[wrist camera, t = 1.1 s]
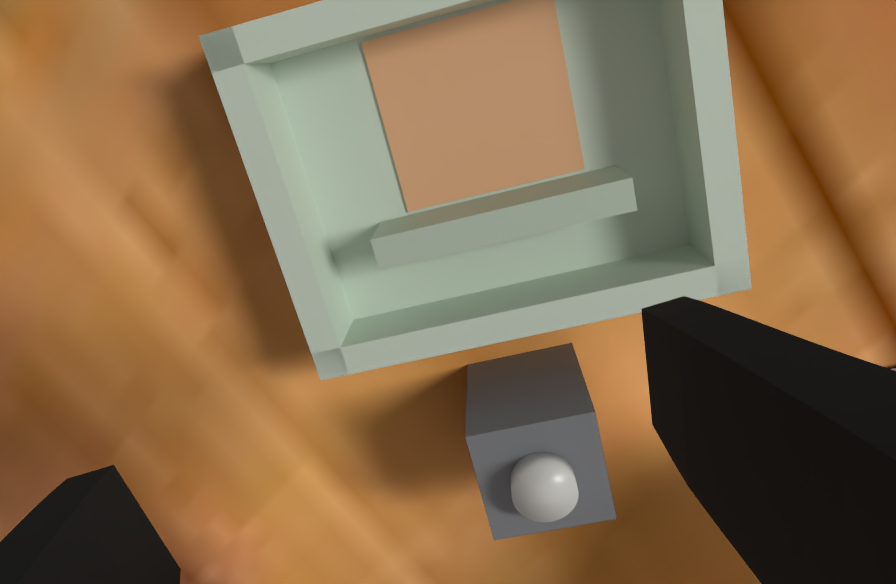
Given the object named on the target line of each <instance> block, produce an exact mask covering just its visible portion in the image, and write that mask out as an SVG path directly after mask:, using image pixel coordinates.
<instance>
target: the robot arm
mask: <svg viewBox="0 0 896 584" xmlns="http://www.w3.org/2000/svg"><path fill="white" fill-rule="evenodd" d="M642 320H643V330H644V340H645V351H646V361H647V372H648V382H649V393H650V403H651V414H652V424H653V426H654V428H655V430H656V432H657V433H658V435H659V437H660V439H661V440H662V442H663V444H664V446H665V448H666V449H667V451H668V453H669V455H670V456H671V458H672V460H673V462H674V463H675V465H676V467H677V468H678V470H679V472H680V473H681V475H682V477H683V478H684V480H685V482H686V483H687V485H688V487H689V488H690V489H691V491H692V492H693V493H694V495H695V496H696V498H697V499H698V500H699V502H700V503H701V504H702V506H703V507H704V508H705V510H706V511H707V512H708V514H709V515H710V516H711V518H712V519H713V520H714V522H715V523H716V524H717V526H718V527H719V528H720V530H721V531H722V532H723V534H724V535H725V536H726V538H727V539H728V540H729V541H730V543H731V544H732V545H733V547H734V548H735V549H736V551H737V552H738V553H739V555H740V556H741V557H742V558H743V560H744V561H745V562H746V564H747V565H748V566H749V568H750V569H751V570H752V572H753V573H754V574H755V575H756V577H757V578H758V579H759V581H760V582H761V583H762V584H896V368H893V369H888V368H885V367H882V366H879V365H876V364H873V363H870V362H867V361H864V360H861V359H858V358H855V357H852V356H849V355H846V354H844V353H841V352H838V351H835V350H832V349H829V348H827V347H824V346H821V345H818V344H816V343H813V342H810V341H807V340H805V339H802V338H799V337H796V336H794V335H791V334H788V333H786V332H783V331H780V330H778V329H775V328H772V327H770V326H767V325H764V324H762V323H759V322H756V321H754V320H751V319H748V318H746V317H743V316H740V315H738V314H735V313H732V312H730V311H727V310H724V309H722V308H719V307H716V306H713V305H710V304H708V303H705V302H702V301H699V300H696V299H692V298H689V297H686V296H683V297H679V298H676V299H672V300H669V301H666V302H662V303H659V304H656V305H652V306H649V307H645V308H642ZM180 570H181V569H180V568H179V566H178V565H177V563H176V562H175V560H174V558H173V557H172V555H171V554H170V552H169V551H168V549H167V547H166V546H165V544H164V543H163V541H162V540H161V538H160V537H159V535H158V533H157V532H156V530H155V529H154V527H153V526H152V524H151V523H150V521H149V519H148V518H147V516H146V515H145V513H144V512H143V510H142V508H141V507H140V505H139V504H138V502H137V501H136V499H135V498H134V496H133V494H132V493H131V491H130V490H129V488H128V487H127V485H126V483H125V482H124V480H123V479H122V477H121V476H120V474H119V473H118V471H117V469H116V468H115V466H114V465H112V466H109V467H105V468H102V469H99V470H95V471H92V472H88V473H85V474H82V475H78V476H75V477H72V478H68V479H66V480H65V481H64V482H63V483H62V484H60V485H59V486H58V487H57V488H56V489H55V490H54V491H52V492H51V493H50V494H49V495H48V496H47V497H46V498H45V499H44V500H43V501H41V502H40V503H39V504H38V505H37V506H36V507H35V508H34V509H33V510H32V511H31V512H30V513H29V514H28V515H27V516H26V517H25V518H24V519H23V520H22V521H21V522H20V523H19V524H18V525H17V526H16V527H15V528H14V529H13V530H12V531H11V532H10V533H9V534H8V535H7V536H6V537H5V538H4V539H3V540H2V541H1V542H0V584H180Z"/></svg>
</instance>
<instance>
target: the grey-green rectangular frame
mask: <svg viewBox="0 0 896 584" xmlns="http://www.w3.org/2000/svg"><path fill="white" fill-rule="evenodd" d="M199 39H200V42H201V45H202V47H203V50H204V53H205V56H206V59H207V61H208V64H209V67H210V70H211V73H212V75H213V78H214V81H215V84H216V87H217V90H218V92H219V95H220V98H221V101H222V104H223V106H224V109H225V112H226V115H227V118H228V121H229V123H230V126H231V129H232V132H233V135H234V137H235V140H236V143H237V146H238V149H239V152H240V154H241V157H242V160H243V163H244V166H245V168H246V171H247V174H248V177H249V180H250V183H251V185H252V188H253V191H254V194H255V197H256V199H257V202H258V205H259V208H260V211H261V214H262V216H263V219H264V222H265V225H266V228H267V230H268V233H269V236H270V239H271V242H272V245H273V247H274V250H275V253H276V256H277V259H278V261H279V264H280V267H281V270H282V273H283V275H284V278H285V281H286V284H287V287H288V290H289V292H290V295H291V298H292V301H293V304H294V306H295V309H296V312H297V315H298V318H299V321H300V323H301V326H302V329H303V332H304V335H305V337H306V340H307V343H308V346H309V349H310V352H311V354H312V357H313V360H314V363H315V366H316V368H317V371H318V374H319V377H320V380H325V379H330V378H335V377H339V376H344V375H349V374H354V373H358V372H363V371H368V370H372V369H377V368H382V367H386V366H391V365H396V364H401V363H405V362H410V361H415V360H419V359H424V358H429V357H434V356H438V355H443V354H448V353H452V352H457V351H462V350H466V349H471V348H476V347H481V346H485V345H490V344H495V343H499V342H504V341H509V340H513V339H518V338H523V337H528V336H532V335H537V334H542V333H546V332H551V331H556V330H561V329H565V328H570V327H575V326H579V325H584V324H589V323H593V322H598V321H603V320H608V319H612V318H617V317H622V316H626V315H631V314H636V313H641V312H642V308H645V307H649V306H652V305H656V304H659V303H662V302H666V301H669V300H672V299H676V298H679V297H683V296H686V297H689V298H692V299H696V300H702V299H706V298H711V297H716V296H721V295H725V294H730V293H735V292H739V291H744V290H749V289H752V286H751V277H750V267H749V257H748V247H747V237H746V227H745V218H744V208H743V198H742V188H741V178H740V169H739V159H738V149H737V139H736V129H735V119H734V110H733V100H732V90H731V80H730V70H729V61H728V51H727V41H726V31H725V21H724V12H723V2H722V0H322V1H319V2H315V3H312V4H308V5H305V6H301V7H298V8H294V9H291V10H288V11H284V12H281V13H277V14H274V15H270V16H267V17H263V18H260V19H256V20H253V21H249V22H246V23H242V24H239V25H236V26H232V27H229V28H225V29H222V30H218V31H215V32H211V33H208V34H204V35H201V36H199Z"/></svg>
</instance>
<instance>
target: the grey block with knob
mask: <svg viewBox="0 0 896 584" xmlns="http://www.w3.org/2000/svg"><path fill="white" fill-rule="evenodd" d="M465 438H466V442H467V445H468V449H469V452H470V456H471V460H472V463H473V467H474V470H475V474H476V477H477V481H478V484H479V488H480V492H481V495H482V499H483V502H484V506H485V509H486V513H487V516H488V520H489V524H490V527H491V531H492V534H493V538H494V540H499V539H504V538H510V537H516V536H522V535H527V534H533V533H539V532H545V531H550V530H556V529H562V528H568V527H573V526H579V525H585V524H591V523H596V522H602V521H608V520H614V519H617V518H616V513H615V508H614V503H613V498H612V493H611V488H610V483H609V478H608V473H607V468H606V463H605V458H604V453H603V448H602V443H601V438H600V433H599V428H598V423H597V418H596V413H595V410H594V407H593V404H592V401H591V398H590V395H589V392H588V389H587V386H586V383H585V380H584V377H583V374H582V371H581V368H580V365H579V363H578V360H577V357H576V354H575V351H574V348H573V345H572V343H569V344H564V345H560V346H555V347H550V348H545V349H540V350H536V351H531V352H526V353H521V354H517V355H512V356H507V357H502V358H497V359H493V360H488V361H483V362H478V363H474V364H469V365H467V393H466V427H465Z"/></svg>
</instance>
